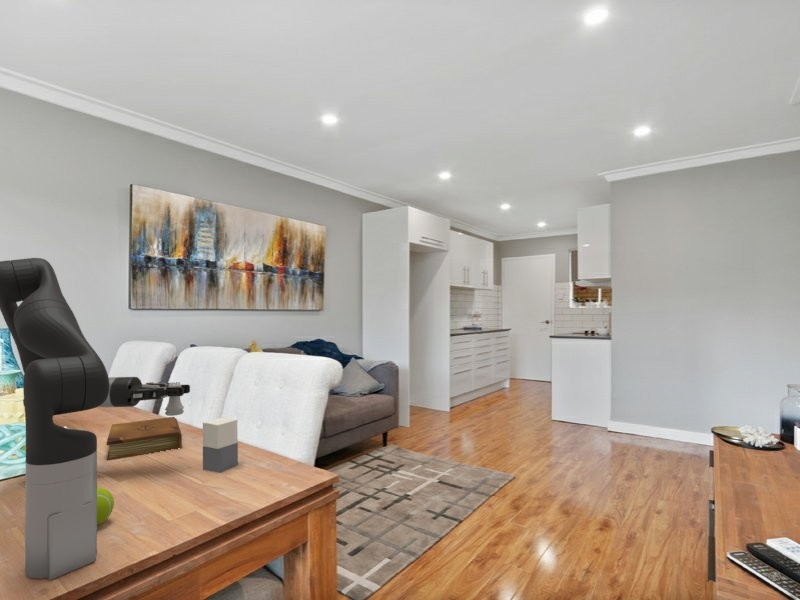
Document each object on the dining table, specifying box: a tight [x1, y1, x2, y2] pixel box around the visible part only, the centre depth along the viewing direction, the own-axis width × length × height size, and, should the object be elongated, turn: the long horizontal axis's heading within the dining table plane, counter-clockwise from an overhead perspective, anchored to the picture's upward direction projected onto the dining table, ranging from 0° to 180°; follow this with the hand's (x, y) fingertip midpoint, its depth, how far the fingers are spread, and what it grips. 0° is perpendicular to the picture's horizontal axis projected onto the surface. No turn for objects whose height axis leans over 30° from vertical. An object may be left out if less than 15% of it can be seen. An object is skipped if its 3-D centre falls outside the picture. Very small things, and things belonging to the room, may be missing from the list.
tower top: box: [202, 416, 239, 449], centre depth 113 cm, size 6×6×6 cm
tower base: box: [202, 443, 239, 473], centre depth 113 cm, size 6×6×6 cm
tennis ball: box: [97, 486, 115, 526], centre depth 82 cm, size 7×7×7 cm
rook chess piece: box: [164, 381, 185, 417], centre depth 111 cm, size 4×4×8 cm
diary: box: [106, 416, 183, 461], centre depth 135 cm, size 23×19×6 cm
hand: (186, 390), depth 111 cm, fingers closed on rook chess piece, 3 cm apart
